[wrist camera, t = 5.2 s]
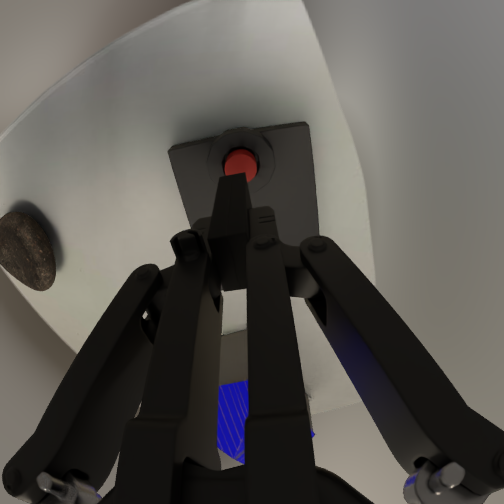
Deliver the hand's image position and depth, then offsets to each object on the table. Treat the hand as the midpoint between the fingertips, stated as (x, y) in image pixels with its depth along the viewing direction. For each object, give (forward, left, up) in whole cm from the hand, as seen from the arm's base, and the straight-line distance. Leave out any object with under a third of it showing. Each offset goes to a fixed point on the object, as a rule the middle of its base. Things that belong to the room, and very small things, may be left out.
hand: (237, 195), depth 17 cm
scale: (+6, 0, -10) cm, 12 cm away
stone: (+4, -28, -10) cm, 30 cm away
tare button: (0, 0, -7) cm, 7 cm away
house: (+36, -6, -10) cm, 38 cm away
